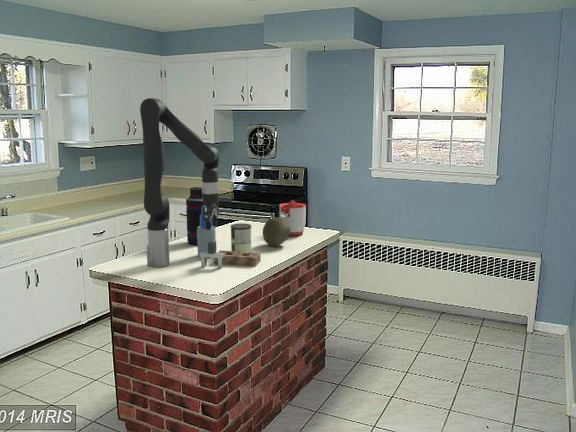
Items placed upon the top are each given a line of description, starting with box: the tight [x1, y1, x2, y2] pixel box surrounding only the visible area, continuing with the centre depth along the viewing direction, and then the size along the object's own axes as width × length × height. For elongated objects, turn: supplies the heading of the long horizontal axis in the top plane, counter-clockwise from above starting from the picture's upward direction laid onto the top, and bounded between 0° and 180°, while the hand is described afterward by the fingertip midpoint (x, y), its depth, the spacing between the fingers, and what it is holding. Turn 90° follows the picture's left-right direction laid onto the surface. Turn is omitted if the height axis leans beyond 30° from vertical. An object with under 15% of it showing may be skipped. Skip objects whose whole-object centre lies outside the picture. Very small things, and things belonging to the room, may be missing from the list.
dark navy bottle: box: [185, 186, 206, 245], centre depth 293 cm, size 14×12×30 cm
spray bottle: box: [197, 205, 217, 259], centre depth 267 cm, size 9×9×25 cm
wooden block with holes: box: [213, 250, 262, 267], centre depth 258 cm, size 20×9×4 cm, turn 79°
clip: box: [199, 241, 225, 270], centre depth 249 cm, size 11×3×12 cm, turn 79°
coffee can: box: [230, 222, 252, 252], centre depth 274 cm, size 10×10×14 cm
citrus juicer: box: [279, 199, 307, 237], centre depth 315 cm, size 16×17×20 cm
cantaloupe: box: [262, 216, 290, 247], centre depth 289 cm, size 14×14×15 cm
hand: (211, 227), depth 247 cm, fingers open, 8 cm apart
